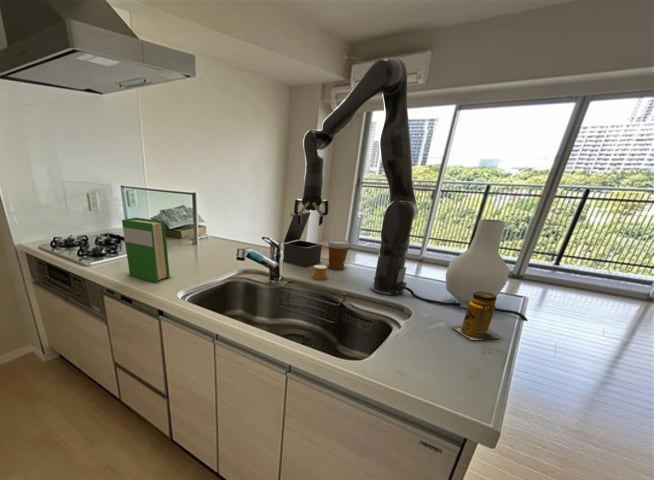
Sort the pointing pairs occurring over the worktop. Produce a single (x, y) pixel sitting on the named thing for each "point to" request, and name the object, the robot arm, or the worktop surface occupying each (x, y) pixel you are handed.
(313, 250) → the dark grey lidded box
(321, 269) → the coffee pod
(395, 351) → the worktop surface
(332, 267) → the disposable coffee cup
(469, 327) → the condiment
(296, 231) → the lid
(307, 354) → the worktop surface
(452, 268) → the vase
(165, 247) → the hardback book
